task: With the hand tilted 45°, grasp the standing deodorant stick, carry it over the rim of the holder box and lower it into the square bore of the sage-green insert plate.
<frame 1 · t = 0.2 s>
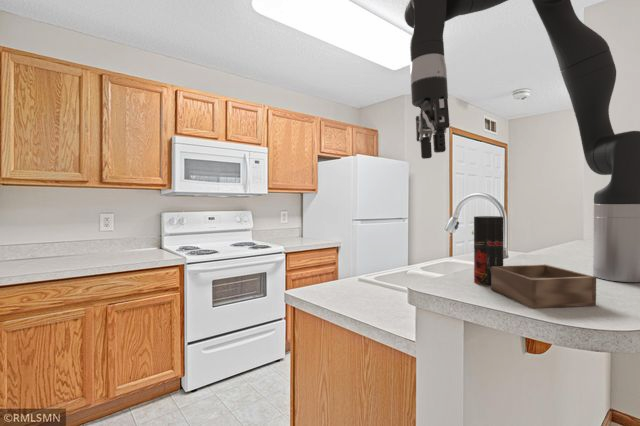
hand: (432, 155, 75), 29 cm above the worktop, tool pointing down, fingers open, 8 cm apart
holder box: (539, 297, 66), on the worktop
deodorant: (488, 283, 78), on the worktop
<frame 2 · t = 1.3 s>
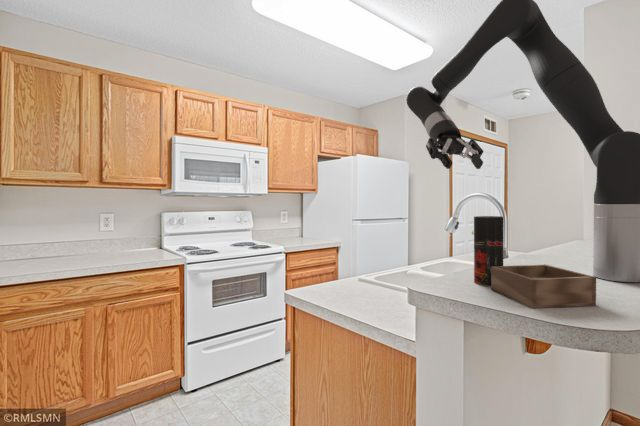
hand: (465, 166, 88), 27 cm above the worktop, tool tilted 45°, fingers open, 8 cm apart
nothing on the worktop moved.
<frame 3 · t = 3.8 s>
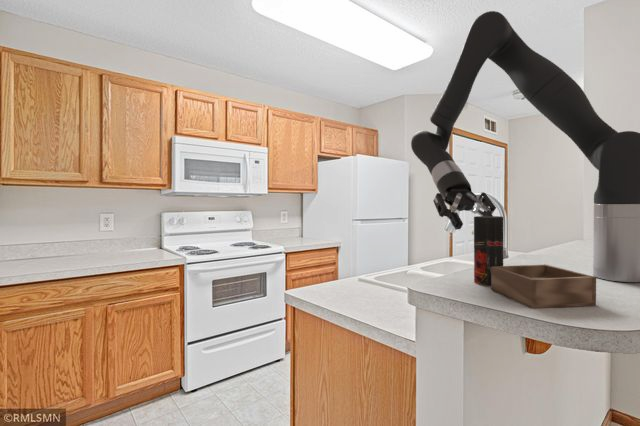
hand: (476, 226, 81), 12 cm above the worktop, tool tilted 45°, fingers open, 8 cm apart
nothing on the worktop moved.
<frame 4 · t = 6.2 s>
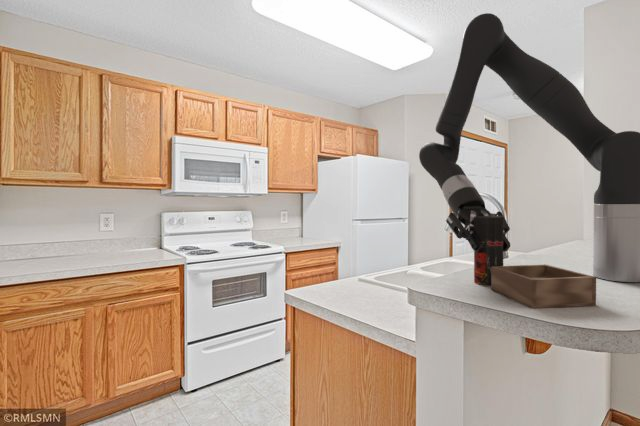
hand: (493, 249, 76), 8 cm above the worktop, tool tilted 45°, fingers closed on deodorant, 6 cm apart
deodorant: (488, 283, 78), on the worktop, touching gripper
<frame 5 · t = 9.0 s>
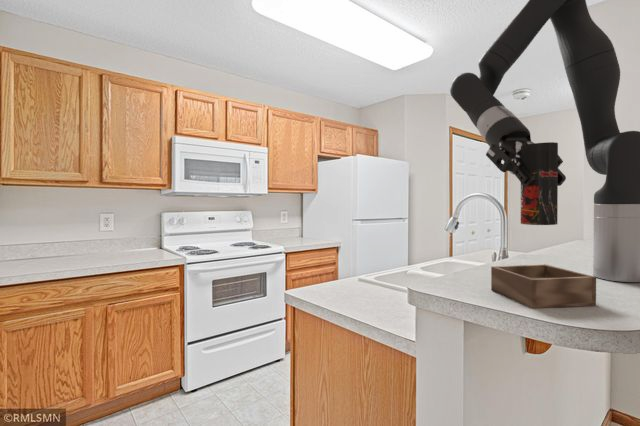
hand: (546, 182, 64), 22 cm above the worktop, tool tilted 45°, fingers closed on deodorant, 6 cm apart
deodorant: (538, 224, 66), point 14 cm above the worktop, touching gripper
when the fingers open (9 cm above the worktop, at t = 11.8 s): deodorant stays where it is, resting on holder box.
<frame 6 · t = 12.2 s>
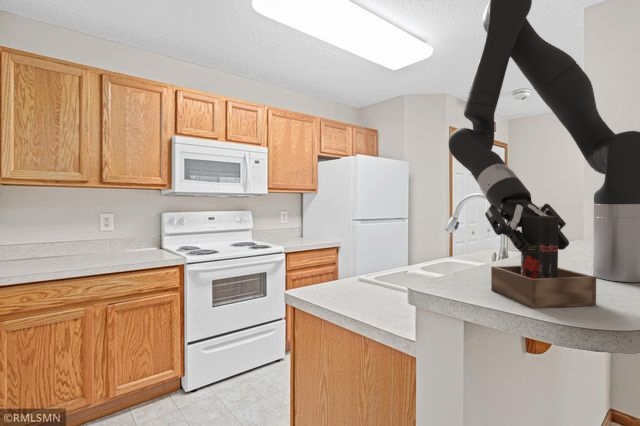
hand: (545, 248, 64), 10 cm above the worktop, tool tilted 45°, fingers open, 8 cm apart
deodorant: (538, 295, 66), resting on holder box
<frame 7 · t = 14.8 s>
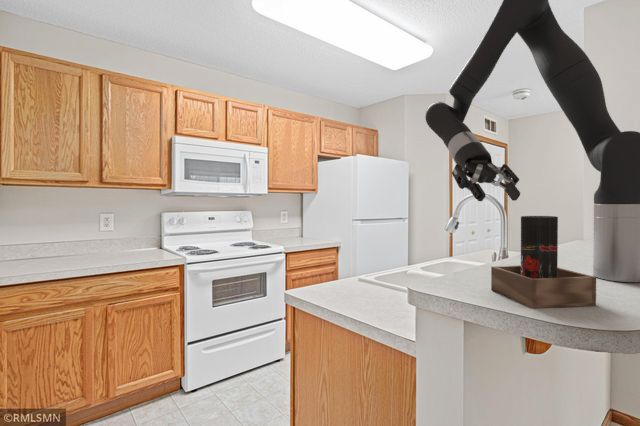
hand: (499, 198, 76), 19 cm above the worktop, tool tilted 45°, fingers open, 8 cm apart
nothing on the worktop moved.
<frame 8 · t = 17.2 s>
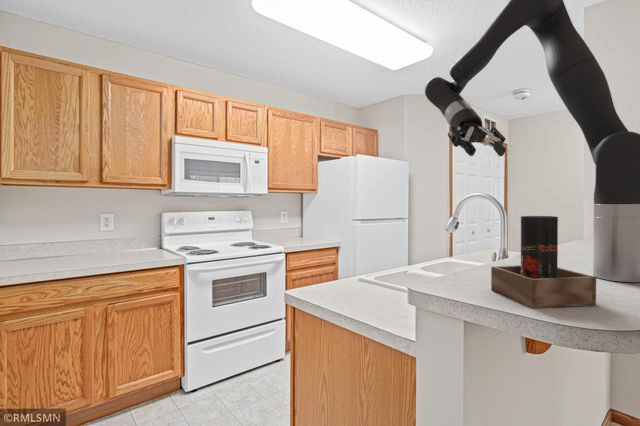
hand: (488, 153, 89), 31 cm above the worktop, tool tilted 45°, fingers open, 8 cm apart
nothing on the worktop moved.
at the end: deodorant 0.2 cm off-centre on the holder box, point 0.3 cm above the holder box's base; deodorant tilted 0°; the gripper is holding nothing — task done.
